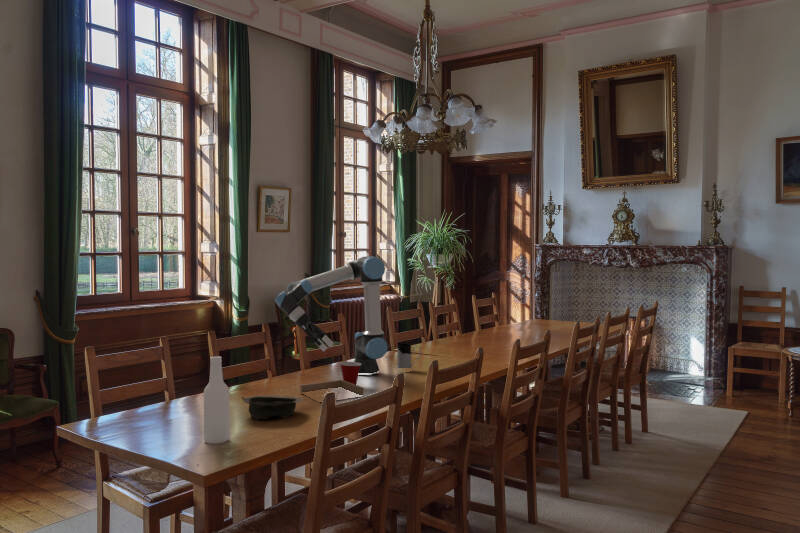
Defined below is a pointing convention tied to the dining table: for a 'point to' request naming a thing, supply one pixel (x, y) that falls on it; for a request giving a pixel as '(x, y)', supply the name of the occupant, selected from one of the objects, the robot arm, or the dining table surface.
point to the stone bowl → (271, 406)
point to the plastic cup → (350, 371)
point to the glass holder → (405, 355)
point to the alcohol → (216, 405)
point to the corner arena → (332, 384)
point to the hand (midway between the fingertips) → (329, 347)
